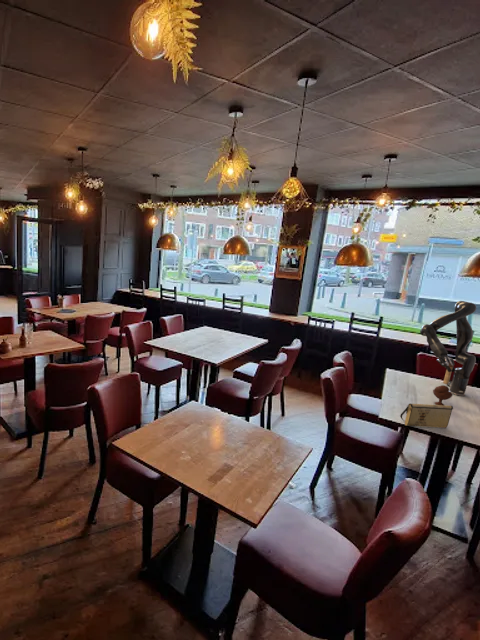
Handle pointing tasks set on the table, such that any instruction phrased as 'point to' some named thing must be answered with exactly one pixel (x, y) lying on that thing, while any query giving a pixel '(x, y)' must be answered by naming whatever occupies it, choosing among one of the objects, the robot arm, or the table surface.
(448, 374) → the stirring stick
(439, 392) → the ice cream bowl
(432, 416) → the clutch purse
